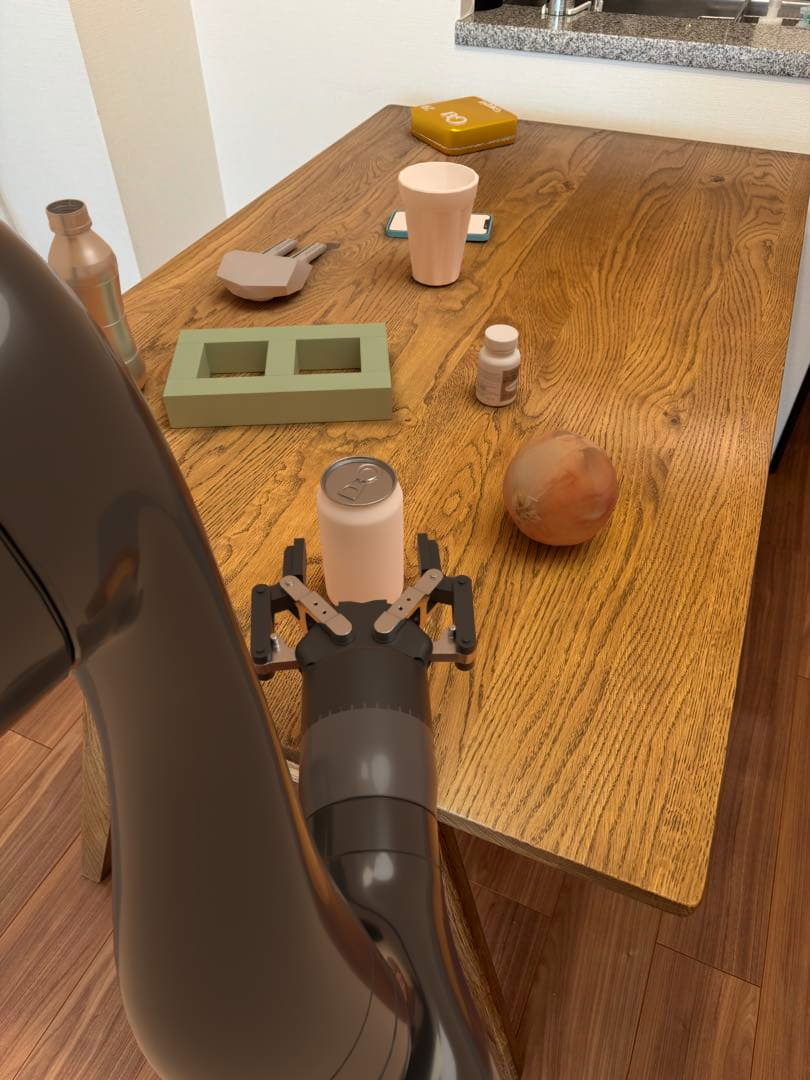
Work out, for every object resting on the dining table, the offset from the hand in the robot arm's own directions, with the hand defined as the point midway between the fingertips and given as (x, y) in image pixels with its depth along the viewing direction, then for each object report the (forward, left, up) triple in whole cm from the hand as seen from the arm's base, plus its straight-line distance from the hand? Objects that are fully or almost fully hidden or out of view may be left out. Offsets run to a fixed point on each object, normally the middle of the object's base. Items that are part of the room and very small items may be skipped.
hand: (361, 543), depth 55 cm
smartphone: (+13, +75, -10) cm, 76 cm away
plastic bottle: (-26, +36, -10) cm, 45 cm away
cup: (+11, +60, -10) cm, 61 cm away
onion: (+17, +11, -10) cm, 22 cm away
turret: (-10, +61, -10) cm, 62 cm away
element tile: (+21, +114, -10) cm, 116 cm away
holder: (-8, +35, -10) cm, 37 cm away
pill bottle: (+15, +32, -10) cm, 36 cm away
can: (0, +5, -10) cm, 11 cm away
